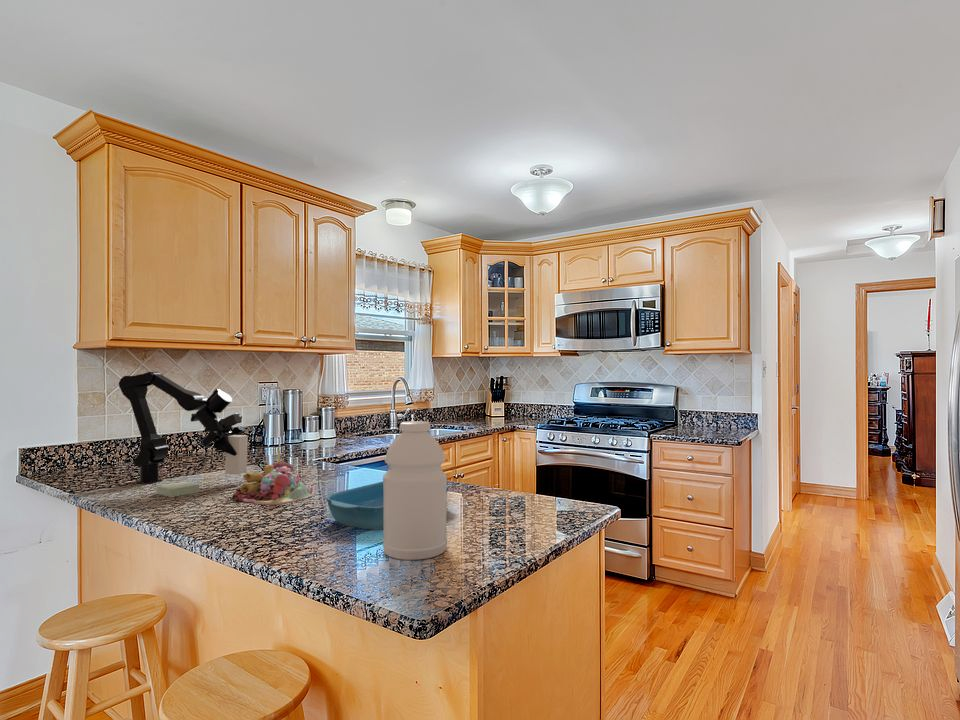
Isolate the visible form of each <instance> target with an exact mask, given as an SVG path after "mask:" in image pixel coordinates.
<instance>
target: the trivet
mask: <svg viewBox="0 0 960 720" xmlns="http://www.w3.org/2000/svg"><path fill="white" fill-rule="evenodd" d="M197 493H200V484H199V483H193V482H189V481H181V482H173V483H168V484H163V485H162V484H161V485H157V486H156V495H159V496H163V495H164V496H163V497H167V496H168V498H175V496H176V497H181V496H185V495H191V494H197ZM180 495H181V496H180Z"/></svg>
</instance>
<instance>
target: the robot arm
mask: <svg viewBox="0 0 960 720" xmlns="http://www.w3.org/2000/svg"><path fill="white" fill-rule="evenodd" d="M150 386H154V387H156V388H157V389H159V390H161V391H162V392H164V393H165V394H166V395H169V396H170V397H172V398H173V399H175V400H176V402H177V404H178V405H179V406H180V407H181V408H182V409H183V410H184V411H186V412H193V411H196V413H191V417H190V422H198V421H199V423H200V424H201V426H203V427H204V429H203V431H204V432H205V433H207V434H206V435H205V436H204V438H202V439H201V445H202V446H203V447H204V449H207V448H210V447H211V448H212V449H216V450H219V451H222V452H224V453H225V454H226V453H229V454H231V455H234V456H235V455H236V454H237V453H236V451H235V450H234V448H233V447H232V445H231V444H230V443H229V441H228V436H231V435H244V434H245V433H246V431H247V429H246V428H245V427H244V426H242V425H241V426H235V425H237V424H241V423H242V422H243V421H242V419H243V416H242V415H241V414H240V413H238V412H234V413H233V414H230V415H228V416H226V417H219V415H218V413H219V414H220V413H222V412H223V411H225V409H226V408H227V407H228V406H229V405H230V404H231V403H232V402H233V397H232V396H231V395H230V394H228V393H227V392H225V391H223V390H221V389H220V388H215V390H214V391H213V393H211V394H210V395H209V397H206V396H205V395H203V394H201V393H199V392H196V391H193V390H188V389H185V388H184V387H182V386H181V385H179V384H178V383H176V382H174V381H173V380H171V379H170V378H169V377H167V376H165V375H163V374H162V373H161V372H160V371H148V372H145V373H140V374H136V375H124V376H122V377H121V378H120V380H119V381H118V387H119V390H121V393H122V395H123V396H124V397H125V398H126V399H127V400H128V401H129V402H130V404H131V405H130V406H131V409H132V411H133V415H134V418H135V421H136V424H137V427H138V430H139V433H140V436H141V440H140V443H139V452H140V453H139V454H138V455H137V456H136V457H135V458H134V459H133V465H134V467H139V479H136V480H135V483H140V484H149V483H155V482H162V481H163V479H162V478H159V467H160V466H159V464H162V463H164V462H165V458H166V456H167V455H168V453H169V449H168V448H169V447H170V446H169V445H168V443H167V438H166V437H165V436H163V437H161V436H159V434H158V433H157V429H156V426H155V423H154V419H153V417H152V414H151V413H152V412H151V410H150V407H149V404H148V401H147V393H148V387H150ZM234 426H235V427H234ZM212 443H213V445H212Z"/></svg>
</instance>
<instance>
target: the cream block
mask: <svg viewBox="0 0 960 720" xmlns="http://www.w3.org/2000/svg"><path fill="white" fill-rule="evenodd" d="M248 435H249V434H248ZM248 435H244V434H242V435H231V436H228V441H229V443H230V444H231V445H232V447H233V448H234V450H235V451H236V453H237V454H236V455H235V456H234V455H231V454H229V453H226V452H225V466H224V467H225V469H224V474H225V475H241V474H244V473H245V474H246V473H248V472H247V469H248V438H249V437H248Z"/></svg>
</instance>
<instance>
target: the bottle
mask: <svg viewBox="0 0 960 720" xmlns="http://www.w3.org/2000/svg"><path fill="white" fill-rule="evenodd" d="M399 431H401V433H400V434H398V436H397V437H396V438H395V439H394V440H393V441H392V442H391V444H390V445H389V447H388V449H387V451H386V454H385V455H384V456H385V457H384V463H385V464H386V465H387V466H388V470H387V471H386V472H385V473H384V474H383V476H382V482H383V529H382V530H383V531H382V532H383V535H382V536H383V540H382V547H383V553H384V554H385V555H386V556H387V557H390V558H393V559H396V560H406V561H417V560H419V561H420V560H425V559H431V558H434V557H437V556H439V555H441V554H443V553H444V552H445V550H446V549H447V545H448V539H447V494H446V491H447V485H448V484H447V481H448V475H447V473H446V472H444V471H443V469H442V467H441V466H442V465H443V463H444V462H445V461H446V457H445V453H444V451H443V448H442V446H441V445H440V443H439V442H438V441H437V439H436V438H435V437H434V436H433V435H432V434H430V433H429V431H431V423H430V422H429V421H425V420H424V421H423V420H416V421H415V420H411V421H409V420H407V421H402V422H400V423H399ZM447 492H448V491H447Z"/></svg>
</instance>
